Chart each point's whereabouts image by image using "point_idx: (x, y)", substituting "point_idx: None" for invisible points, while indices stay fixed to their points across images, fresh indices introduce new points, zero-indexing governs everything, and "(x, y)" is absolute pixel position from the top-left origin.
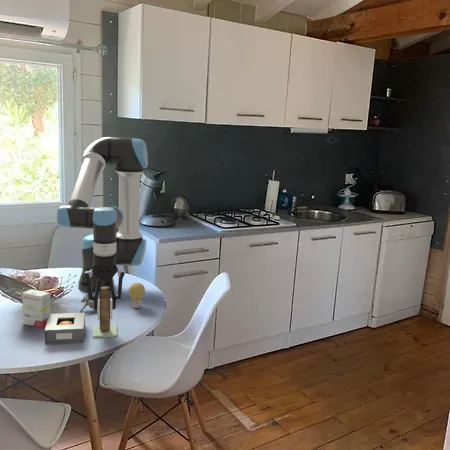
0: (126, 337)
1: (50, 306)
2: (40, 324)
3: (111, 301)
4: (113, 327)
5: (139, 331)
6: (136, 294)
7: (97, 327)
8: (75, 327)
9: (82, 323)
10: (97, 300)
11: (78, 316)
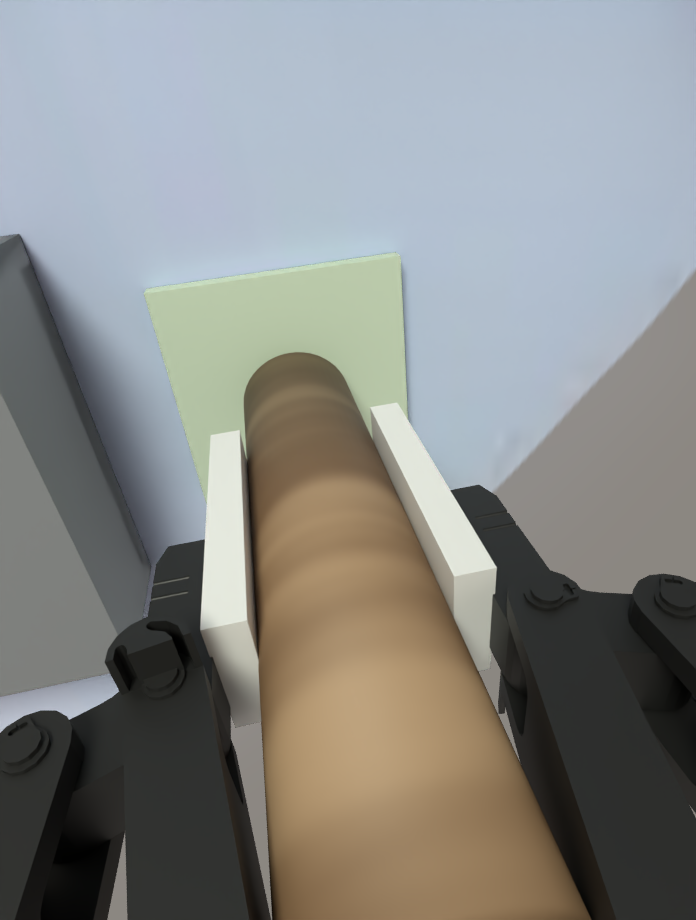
0: (481, 462)
1: None
2: None
3: (475, 664)
4: (372, 322)
5: (598, 352)
6: None
7: (201, 330)
8: (46, 664)
9: (80, 587)
10: (235, 753)
11: None
